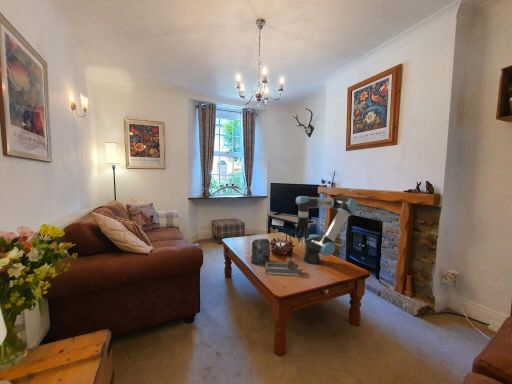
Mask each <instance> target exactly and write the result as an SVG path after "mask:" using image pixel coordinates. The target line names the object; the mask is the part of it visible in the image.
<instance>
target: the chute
mask: <svg viewBox="0 0 512 384" xmlns="http://www.w3.org/2000/svg"><path fill="white" fill-rule="evenodd" d="M265 274H266V275H267V274H269V275H282V276H283V275H284V276H285V275H286V276H300V269H299V264H298V263H295V269H287V262H272V261H271V262H270V261H269V262H268V261H266V262H265Z"/></svg>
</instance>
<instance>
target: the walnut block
mask: <svg viewBox="0 0 512 384" xmlns="http://www.w3.org/2000/svg"><path fill="white" fill-rule="evenodd" d="M286 263H287V269H295V264H296V259H295V257H286Z"/></svg>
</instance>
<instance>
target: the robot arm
mask: <svg viewBox="0 0 512 384" xmlns="http://www.w3.org/2000/svg"><path fill="white" fill-rule="evenodd" d="M295 204H297V205H298V215H297V223H296V224H293V226H294V230H295V236H296V239H297V238H298V239H297V242H298V243H299V245H298V246H299V248H301V247H303V248H305V249H304V254H303V256H302V261H303V262H304V263H306V264H310V265H318V264H320V263H321V257H320V255H322V256H325V257H330V256H332V255H333V254H334V253H335V250H336V245H335V244H336V241H335V240H336V238H337V236H338V234H339V232H340V231H341V229H342V227H343V225H344V224H345V222H346V220H347V219H348V217H351V216H352V214H354V213H355V214H356V212H357V210H358V203H357V200H356V199H354V198H349V197H343V196H342V197H341V196H335V197H334V196H333V197H332V196H329V197H312V196H308V195H307V196H306V195H305V196H304V195H299V196H297V197H296V198H295ZM321 207H326V208H328V209H334V210H337V213H336V214H335V216H334V218H333V220H332V221H331V224H330V225H329V227H328V228H327V231H326V232H325V233H324V235H321V237H320V235H319V234H310V233H311V228H312V225H311V224H309V211H310V210H309V209H318V208H321ZM298 227H299V230H298ZM302 229H303V234H304V235H303V236H304V237H303V240H302V238H301V236H302V235H301V234H302ZM302 241H303V243H302ZM301 245H302V246H301Z"/></svg>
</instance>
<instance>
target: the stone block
mask: <svg viewBox="0 0 512 384" xmlns="http://www.w3.org/2000/svg"><path fill="white" fill-rule="evenodd" d="M270 244H271V243H270V240H269V239H268V238H256V239H254V240H252V242H251V257H250V259H251V264H254V265H255V264H256V265H261V264H264V263H266V262H268V261H270V260H271V259H270V258H271V249H270V248H271V245H270Z"/></svg>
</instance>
